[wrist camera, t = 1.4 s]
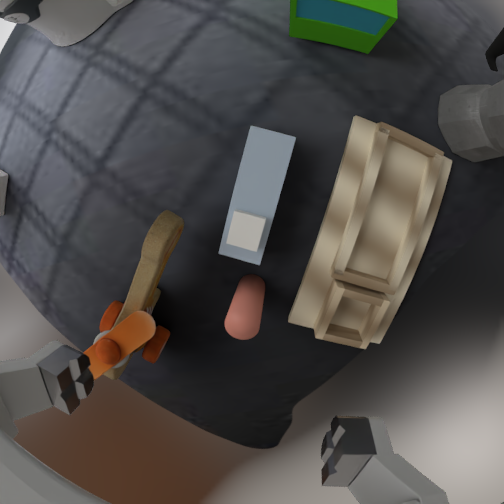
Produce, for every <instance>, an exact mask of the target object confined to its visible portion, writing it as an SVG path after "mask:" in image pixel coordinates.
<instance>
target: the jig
mask: <svg viewBox="0 0 504 504" xmlns="http://www.w3.org/2000/svg"><path fill="white" fill-rule="evenodd" d="M443 155H444V152H443V151H441V150H439V149H437V148H435V147H433V146H431V145H430V144H428V143H426V142H424V141H422V140H420V139H418V138H416V137H414V136H412V135H410V134H408V133H406V132H403V131H401V130H399V129H397V128H395V127H392V126H390V125H388V124H386V123H383V122H380V123H377V124H376V123H374V122H371V121H369V120H367V119H364V118H361V117H359V116H354V117H353V121H352V125H351V128H350V132H349V136H348V139H347V143H346V147H345V150H344V154H343V157H342V160H341V164H340V167H339V171H338V174H337V177H336V181H335V184H334V187H333V190H332V194H331V197H330V200H329V203H328V206H327V209H326V212H325V215H324V219H323V222H322V225H321V228H320V231H319V234H318V237H317V239H316V242H315V245H314V248H313V251H312V254H311V257H310V260H309V262H308V265H307V268H306V271H305V274H304V276H303V279H302V282H301V285H300V287H299V290H298V293H297V295H296V298H295V301H294V303H293V306H292V309H291V311H290V314H289V316H288V322H290V323H293V324H297V325H301V326H305V327H309V328H313V329H314V333H315V338H318V339H322V340H326V341H331V342H335V343H339V344H344V345H349V346H353V347H358V348H363V349H366V348H367V346H368V344H369V342H373V343H378V344H380V342H381V340H382V339H383V337H384V335H385V333H386V331H387V329H388V328H389V326H390V324H391V322H392V320H393V318H394V316H395V314H396V312H397V310H398V308H399V306H400V304H401V302H402V300H403V298H404V296H405V294H406V292H407V289H408V287H409V285H410V283H411V281H412V278H413V276H414V274H415V271H416V269H417V267H418V264H419V262H420V259H421V257H422V255H423V252H424V249H425V247H426V244H427V242H428V239H429V236H430V234H431V231H432V228H433V225H434V222H435V219H436V216H437V213H438V210H439V207H440V204H441V201H442V197H443V194H444V191H445V187H446V184H447V180H448V176H449V173H450V169H451V165H452V160H450V159H448V158H446V157H445V156H443Z"/></svg>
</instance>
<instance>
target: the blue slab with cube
mask: <svg viewBox="0 0 504 504" xmlns="http://www.w3.org/2000/svg"><path fill="white" fill-rule="evenodd" d="M295 140H296V137H293V136H289V135H285V134H282V133H278V132H274V131H270V130H266V129H262V128H258V127H254V126H251V127H250V131H249V134H248V138H247V142H246V145H245V149H244V153H243V157H242V160H241V164H240V168H239V172H238V176H237V180H236V183H235V187H234V191H233V195H232V199H231V203H230V207H229V211H228V215H227V219H226V224H225V228H224V232H223V236H222V240H221V244H220V249H219V253H218V254H222V255H225V256H229V257H232V258H236V259H239V260H243V261H246V262H250V263H253V264H257V265H260V263H261V259H262V256H263V252H264V249H265V246H266V242H267V239H268V235H269V232H270V228H271V225H272V221H273V218H274V214H275V211H276V207H277V204H278V200H279V197H280V193H281V190H282V186H283V183H284V179H285V176H286V172H287V168H288V165H289V161H290V158H291V154H292V150H293V147H294V143H295Z"/></svg>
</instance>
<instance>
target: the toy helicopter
mask: <svg viewBox="0 0 504 504" xmlns="http://www.w3.org/2000/svg"><path fill="white" fill-rule="evenodd" d="M183 227H184V220H183V219H182V218H181V217H179V216H177V215H176V214H174V213H172V212H171V211H169V210H165V211H164V212H162V213H161V214H160V215H159V216H158V217H157V219H156V220H155V222H154V223H153V225H152V226H151V228H150V230H149V232H148V234H147V236H146V238H145V240H144V243H143V247H142V255H141V259H140V262H139V265H138V267H137V270H136V273H135V275H134V278H133V281H132V284H131V287H130V290H129V293H128V295H127V299H126V301H125V303H124V304H123V303H121V302H120V301H114V302H113V303H112V304H111V305H110V306H109V307H108V308H107V310H106V311H105V313H104V315H103V317H102V319H101V322H100V331H101V333H100V334H99V335H98V336H97V337H96V338H95V340H94V344H93V345H92V346H91V347H90V348H89V349H87V350H86V351H85V352H84V354H86V355H87V356H88V357H89V359H90V363H91V365H90V367H89V369H90V371H91V372H92V374H93V377H94V380H96V379H97V378H98V377H100V376H101V375H102V374H103V375H105V376H107V377H109V378H111V379H113V380H116V379H118V378H119V376H120V375H121V374H122V372H123V371H124V369H125V367H126V366H127V364H128V362H129V360H130V359H131V357H132V355H133V353H134V352H137V351H139V350H141V349H142V348H143V347H144V350H143V353H142V357H143V358H144V359H145V360H147V361H149V362H151V363H155V362H156V361H157V359H158V357H159V356H160V354H161V352H162V350H163V348H164V346H165V344H166V342H167V340H168V338H169V336H170V331H169V330H167V329H166V328H164V327H162V326H157V327H156V324H155V321H154V319H153V317H152V316H151V314H152V311H153V309H154V306H155V304H156V302H157V300H158V298H159V296H160V293H161V291H160V290H159V289H158V288H157V285H158V283H159V280H160V278H161V275H162V273H163V270H164V268H165V265H166V263H167V261H168V259H169V257H170V255H171V253H172V251H173V249H174V248H175V246H176V244H177V242H178V240H179V238H180V235H181V233H182V230H183Z"/></svg>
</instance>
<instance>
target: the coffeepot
mask: <svg viewBox="0 0 504 504" xmlns="http://www.w3.org/2000/svg"><path fill="white" fill-rule="evenodd" d="M502 54H504V28H503V29H502V31H501V32H500V33H499V35H498V36H497V37H496V39H495V40H494V42H493V43H492V44H491V45H490V47H489V48H488V49H487V51H486V53H485V55H486V59H487V62H488V64H489V67H490V69H491V70H493V71H498V70H497V67H496V58H497V57H498V56H500V55H502ZM438 126H439V128H440V130H441V133H442V135H443V137H444V139H445V141H446V143H447V144H448V146H449V147H450V149H451V151H452V153H454V154H457V155H459V156H460V157H462V158H465V159H467V160H470V161H472V162H474V163H475V162H479V161H484V160H488V159H492V158H497V157H501V156H504V79H503V80H501V81H500V82H498V83H496V84H495V85H493V86H491V85H458V86H456V87H454V88H452V89H451V90H449V91H447V92H446V93H444V94H442V95H440V100H439V106H438Z"/></svg>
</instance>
